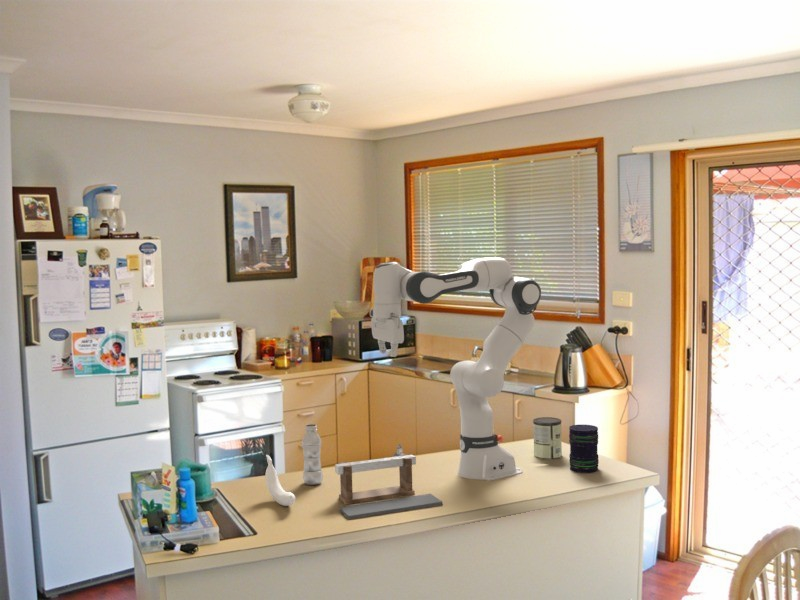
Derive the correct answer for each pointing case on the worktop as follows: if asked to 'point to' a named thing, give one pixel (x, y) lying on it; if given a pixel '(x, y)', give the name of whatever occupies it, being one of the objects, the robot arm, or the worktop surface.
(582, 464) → the storage jar
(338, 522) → the worktop surface
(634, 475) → the worktop surface
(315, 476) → the plastic bottle
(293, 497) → the banana
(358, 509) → the mat
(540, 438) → the coffee can
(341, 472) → the rail
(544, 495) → the worktop surface
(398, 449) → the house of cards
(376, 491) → the stand
